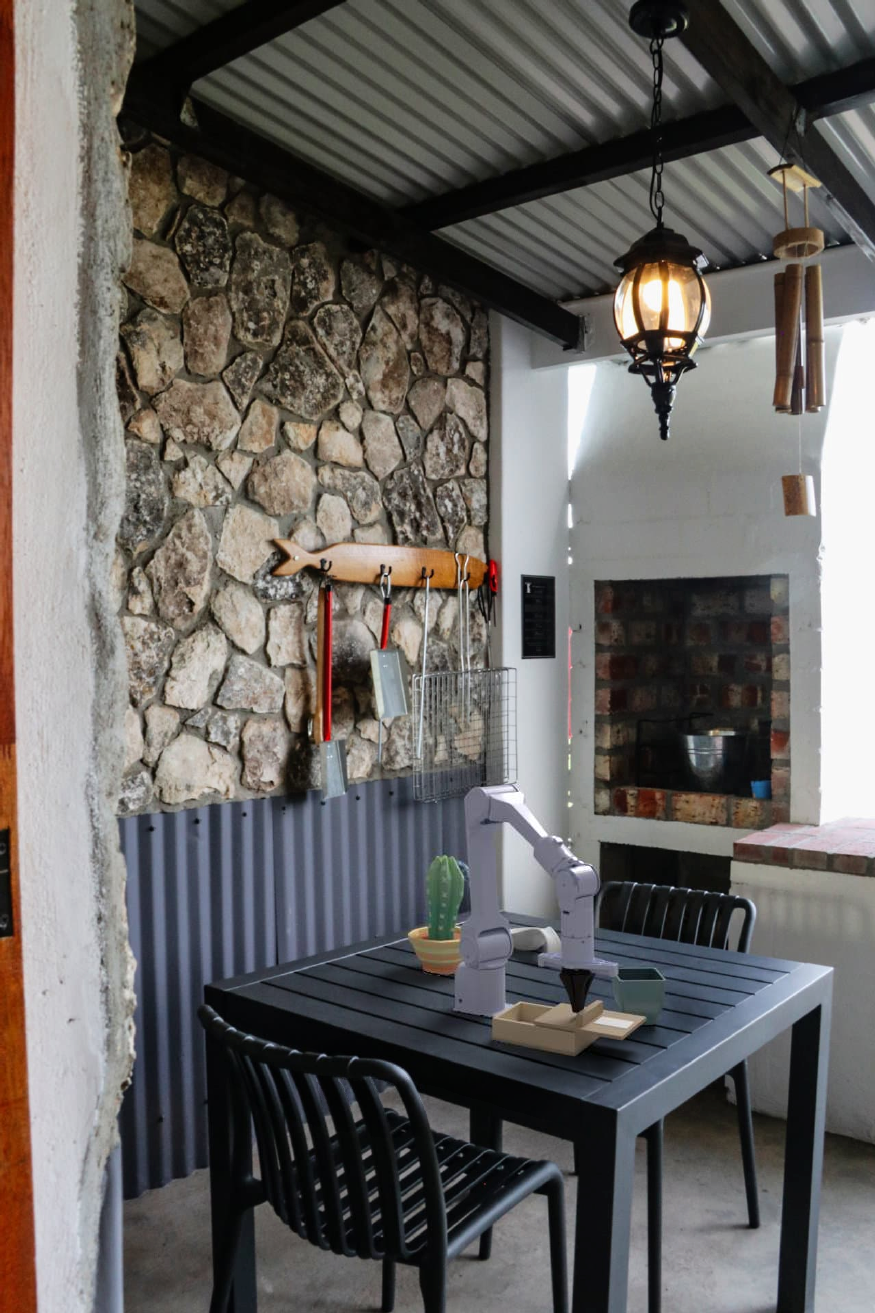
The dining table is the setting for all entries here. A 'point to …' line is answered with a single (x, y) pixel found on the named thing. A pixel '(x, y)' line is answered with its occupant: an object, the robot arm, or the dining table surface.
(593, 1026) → the mailer lid
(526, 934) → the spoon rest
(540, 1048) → the box
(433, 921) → the potted cactus
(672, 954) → the dining table surface
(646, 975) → the flower pot
